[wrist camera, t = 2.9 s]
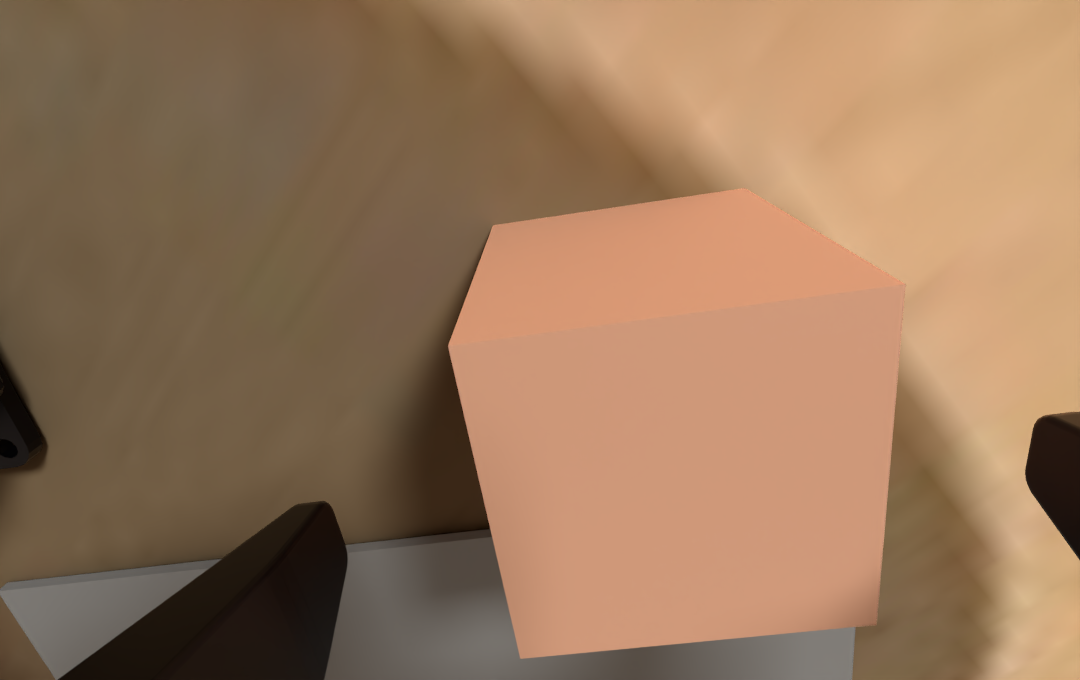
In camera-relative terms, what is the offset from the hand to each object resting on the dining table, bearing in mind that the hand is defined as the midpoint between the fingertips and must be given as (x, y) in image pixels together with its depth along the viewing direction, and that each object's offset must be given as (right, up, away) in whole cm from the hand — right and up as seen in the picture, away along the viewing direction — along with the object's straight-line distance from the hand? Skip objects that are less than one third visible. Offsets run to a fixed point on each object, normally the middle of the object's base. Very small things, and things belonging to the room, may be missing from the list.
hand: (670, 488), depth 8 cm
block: (0, +2, +5) cm, 6 cm away
